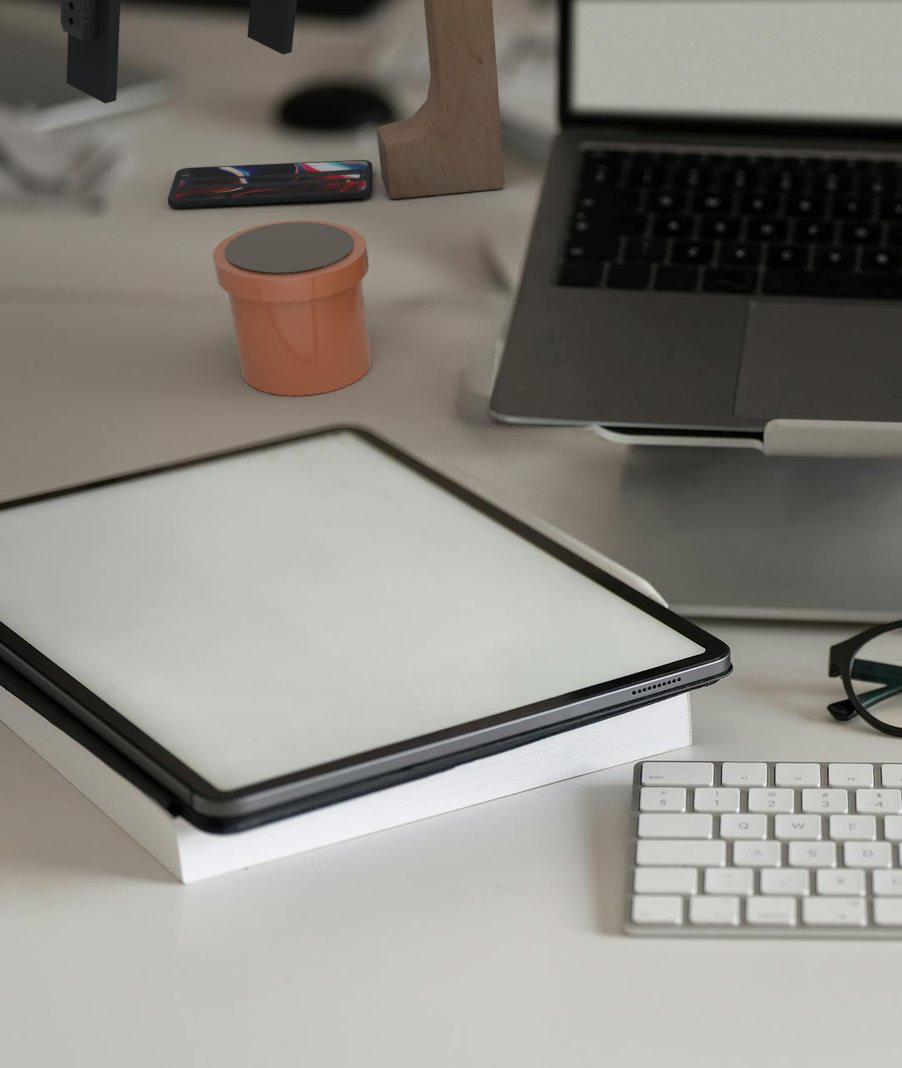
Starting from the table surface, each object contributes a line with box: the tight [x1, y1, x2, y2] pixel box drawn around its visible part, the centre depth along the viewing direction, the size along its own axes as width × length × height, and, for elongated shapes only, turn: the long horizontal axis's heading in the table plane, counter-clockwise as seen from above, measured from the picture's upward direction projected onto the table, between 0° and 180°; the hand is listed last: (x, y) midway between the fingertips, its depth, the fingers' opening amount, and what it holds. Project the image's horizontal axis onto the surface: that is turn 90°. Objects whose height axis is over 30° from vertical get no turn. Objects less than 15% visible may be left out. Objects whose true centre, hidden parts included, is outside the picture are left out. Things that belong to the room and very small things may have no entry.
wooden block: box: [376, 0, 506, 200], centre depth 129 cm, size 9×4×18 cm, turn 109°
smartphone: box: [167, 159, 374, 209], centre depth 132 cm, size 7×1×15 cm
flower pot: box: [212, 219, 373, 397], centre depth 105 cm, size 9×9×8 cm
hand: (185, 67), depth 95 cm, fingers open, 13 cm apart
